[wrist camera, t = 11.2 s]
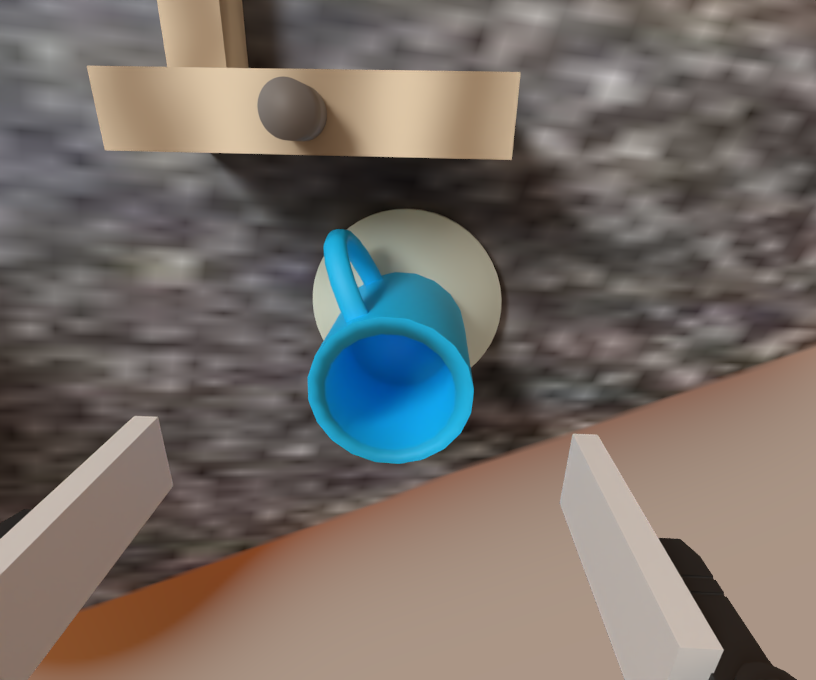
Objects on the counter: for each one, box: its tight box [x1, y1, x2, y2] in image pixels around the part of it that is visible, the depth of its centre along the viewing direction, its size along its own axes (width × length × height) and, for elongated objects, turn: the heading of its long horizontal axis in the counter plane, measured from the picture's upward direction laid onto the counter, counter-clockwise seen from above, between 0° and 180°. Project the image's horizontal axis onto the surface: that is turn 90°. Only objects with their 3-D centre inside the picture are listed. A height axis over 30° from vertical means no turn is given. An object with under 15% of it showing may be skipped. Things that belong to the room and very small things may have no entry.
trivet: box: [313, 208, 502, 367], centre depth 30 cm, size 12×12×1 cm
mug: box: [308, 229, 474, 464], centre depth 26 cm, size 12×8×8 cm
